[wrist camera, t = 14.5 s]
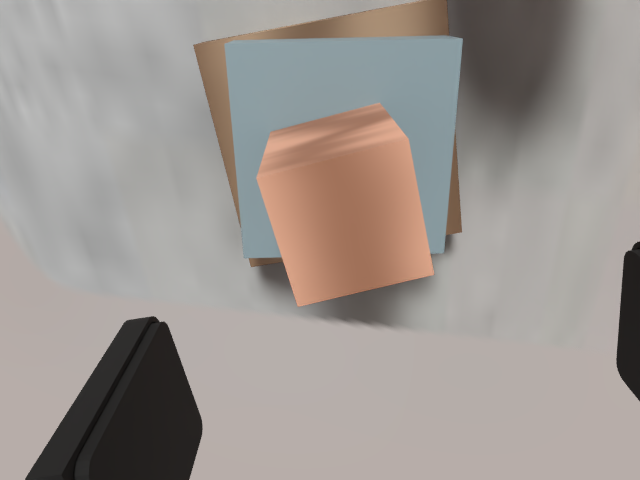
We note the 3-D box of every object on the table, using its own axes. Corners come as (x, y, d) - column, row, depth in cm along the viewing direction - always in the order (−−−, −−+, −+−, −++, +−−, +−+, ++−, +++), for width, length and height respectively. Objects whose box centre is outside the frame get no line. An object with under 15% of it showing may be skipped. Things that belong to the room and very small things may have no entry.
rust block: (379, 102, 22) (408, 138, 16) (400, 205, 24) (434, 274, 18) (270, 131, 23) (256, 178, 16) (300, 230, 25) (297, 306, 18)
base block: (432, -2, 26) (446, -4, 23) (448, 212, 31) (461, 232, 28) (205, 41, 27) (193, 45, 24) (256, 244, 32) (251, 267, 29)
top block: (445, 35, 24) (462, 38, 21) (431, 229, 28) (443, 253, 25) (234, 40, 24) (224, 43, 21) (250, 234, 28) (243, 258, 25)
